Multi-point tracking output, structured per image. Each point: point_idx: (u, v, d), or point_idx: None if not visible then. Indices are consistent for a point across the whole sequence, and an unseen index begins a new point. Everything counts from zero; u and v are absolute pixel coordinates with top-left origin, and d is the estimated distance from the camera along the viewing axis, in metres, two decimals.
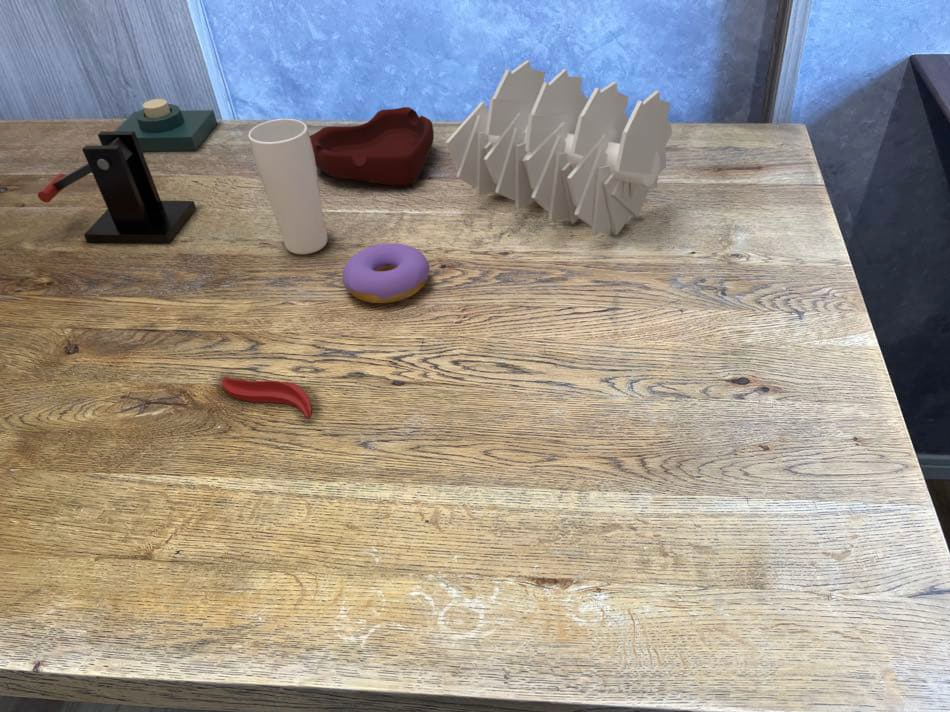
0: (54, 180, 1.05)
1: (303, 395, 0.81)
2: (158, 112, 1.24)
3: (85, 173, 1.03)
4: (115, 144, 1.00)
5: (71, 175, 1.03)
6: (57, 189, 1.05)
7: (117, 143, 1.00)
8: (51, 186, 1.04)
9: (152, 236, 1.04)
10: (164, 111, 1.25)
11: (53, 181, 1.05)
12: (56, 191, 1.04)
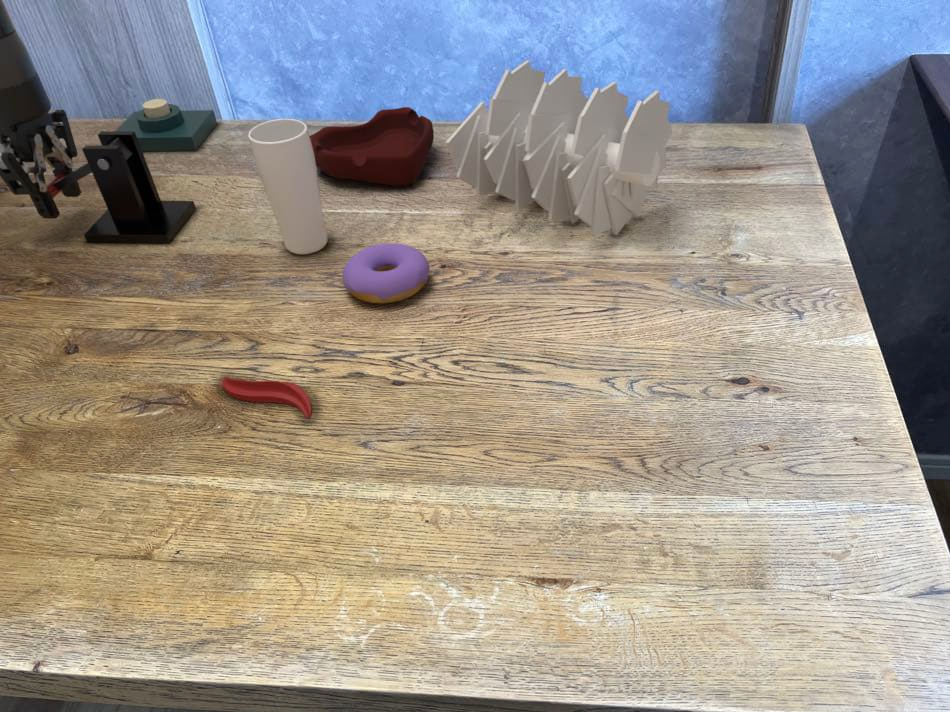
0: (54, 180, 1.05)
1: (303, 395, 0.81)
2: (158, 112, 1.24)
3: (86, 173, 1.03)
4: (115, 144, 1.00)
5: (71, 175, 1.03)
6: (57, 189, 1.05)
7: (117, 143, 1.00)
8: (51, 186, 1.04)
9: (152, 236, 1.04)
10: (164, 111, 1.25)
11: (53, 181, 1.05)
12: (56, 191, 1.04)
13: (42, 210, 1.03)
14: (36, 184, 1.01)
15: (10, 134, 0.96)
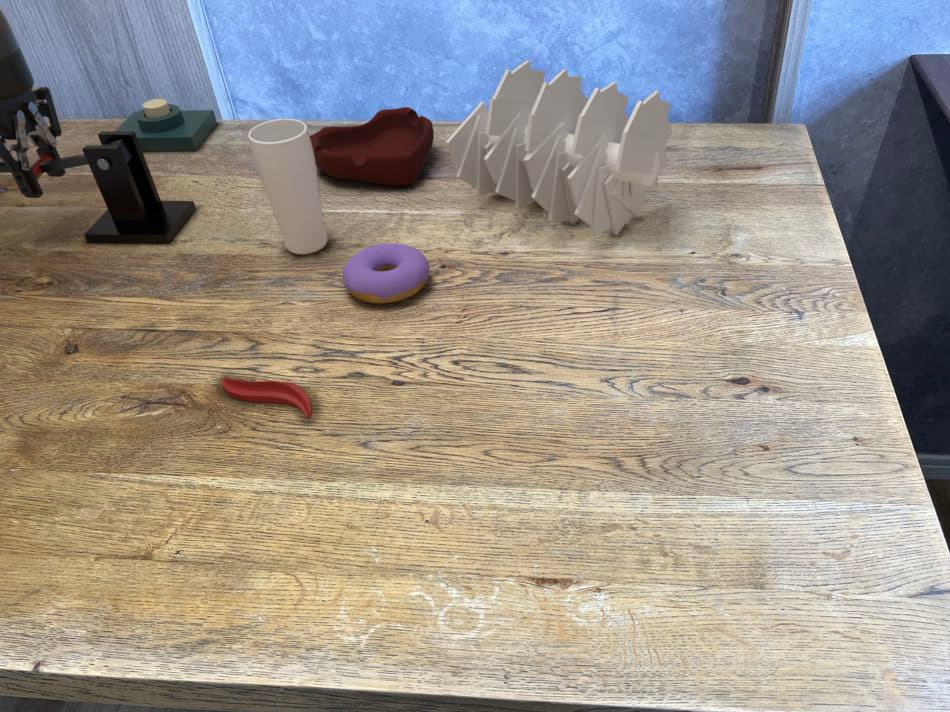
0: (40, 161, 1.03)
1: (303, 395, 0.81)
2: (158, 112, 1.24)
3: (78, 164, 1.02)
4: None
5: (62, 162, 1.02)
6: (42, 171, 1.03)
7: (120, 145, 1.00)
8: (37, 167, 1.02)
9: (152, 236, 1.04)
10: (164, 111, 1.25)
11: (39, 162, 1.03)
12: (41, 173, 1.03)
13: (25, 189, 1.01)
14: (18, 162, 0.99)
15: None
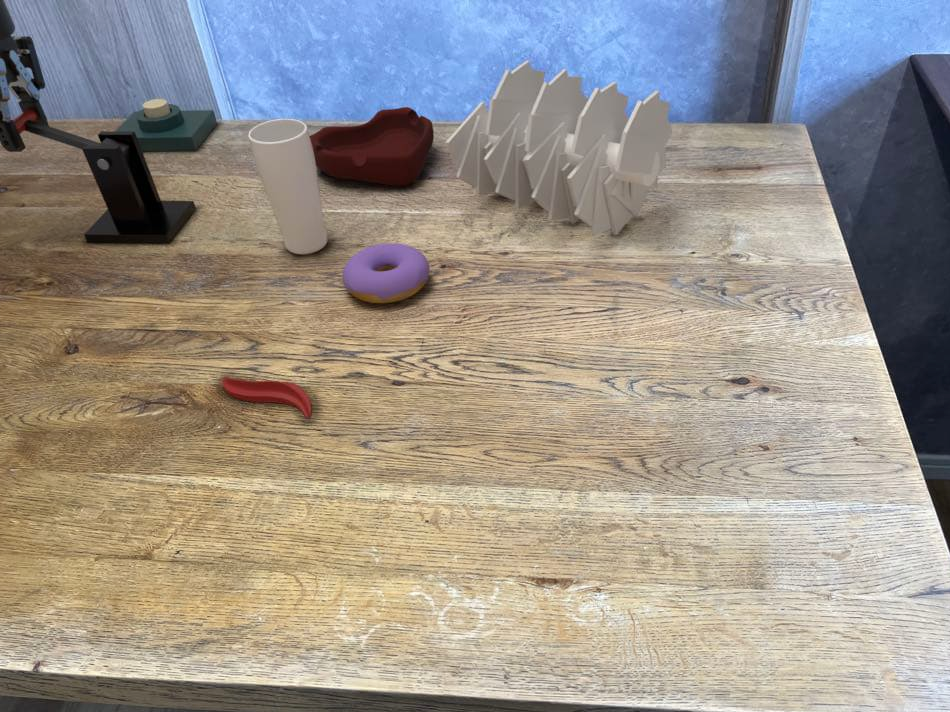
0: (26, 117, 0.99)
1: (303, 395, 0.81)
2: (158, 112, 1.24)
3: (70, 144, 1.00)
4: (124, 152, 1.01)
5: (53, 134, 0.99)
6: (25, 129, 0.99)
7: (125, 151, 1.01)
8: (22, 124, 0.99)
9: (152, 236, 1.04)
10: (164, 111, 1.25)
11: (25, 118, 0.99)
12: None
13: (6, 142, 0.97)
14: None
15: None
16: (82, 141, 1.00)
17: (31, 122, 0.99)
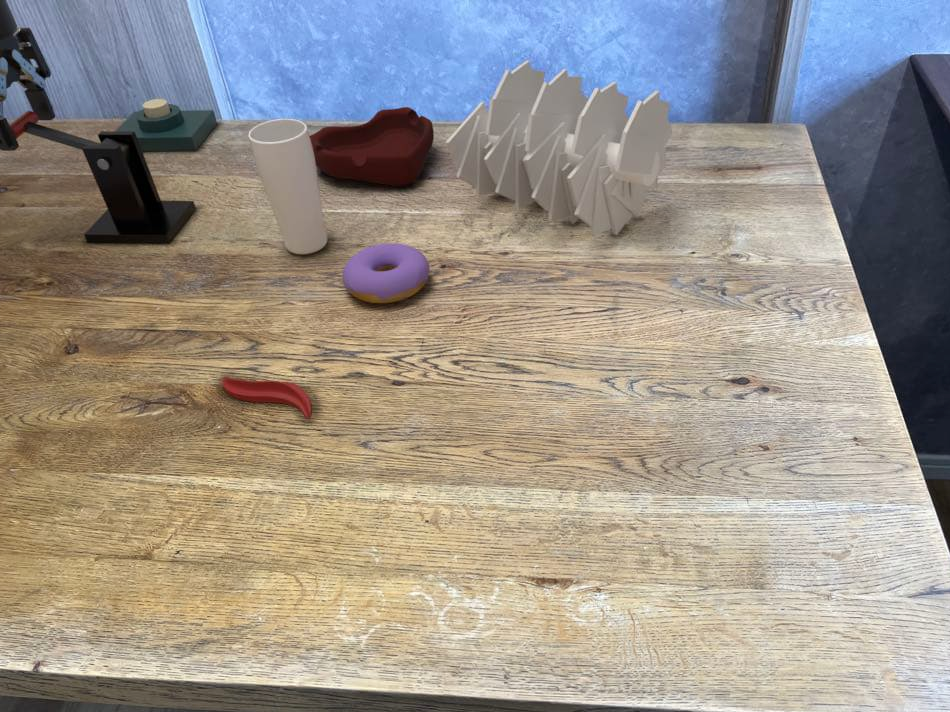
0: (26, 119, 1.00)
1: (303, 395, 0.81)
2: (158, 112, 1.24)
3: (70, 145, 1.00)
4: (124, 152, 1.01)
5: (53, 135, 1.00)
6: (26, 131, 0.99)
7: (125, 151, 1.01)
8: (22, 126, 0.99)
9: (152, 236, 1.04)
10: (164, 111, 1.25)
11: (25, 120, 0.99)
12: (23, 132, 0.99)
13: None
14: None
15: None
16: (82, 142, 1.00)
17: (31, 124, 0.99)
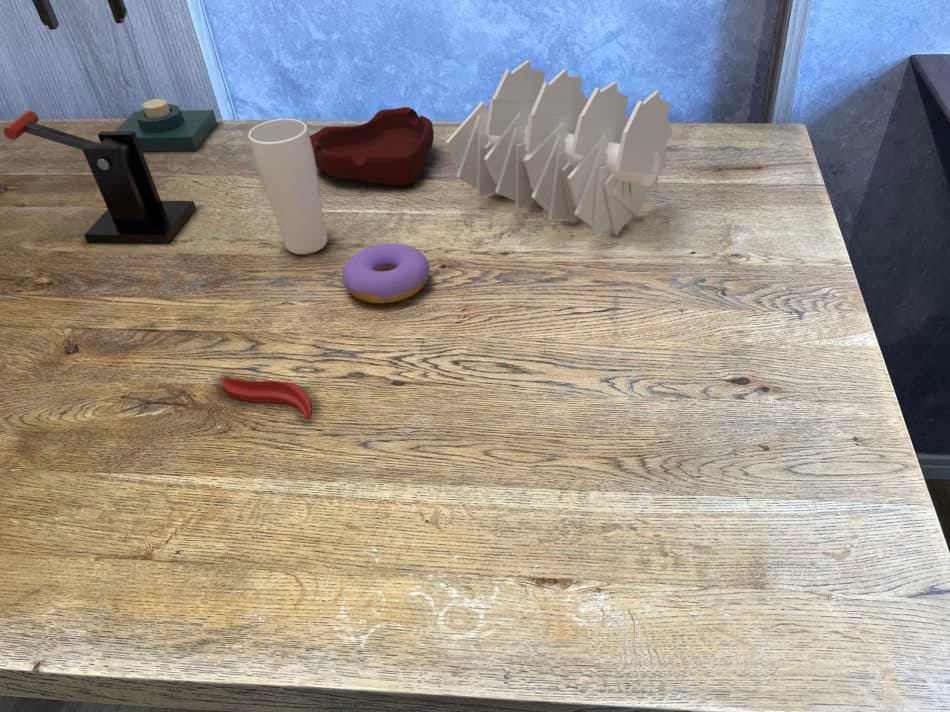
0: (26, 119, 1.00)
1: (303, 395, 0.81)
2: (158, 112, 1.24)
3: (70, 145, 1.00)
4: (124, 152, 1.01)
5: (53, 135, 1.00)
6: (26, 131, 0.99)
7: (125, 151, 1.01)
8: (22, 126, 0.99)
9: (152, 236, 1.04)
10: (164, 111, 1.25)
11: (25, 120, 0.99)
12: (23, 132, 0.99)
13: None
14: None
15: None
16: (82, 142, 1.00)
17: (31, 124, 0.99)
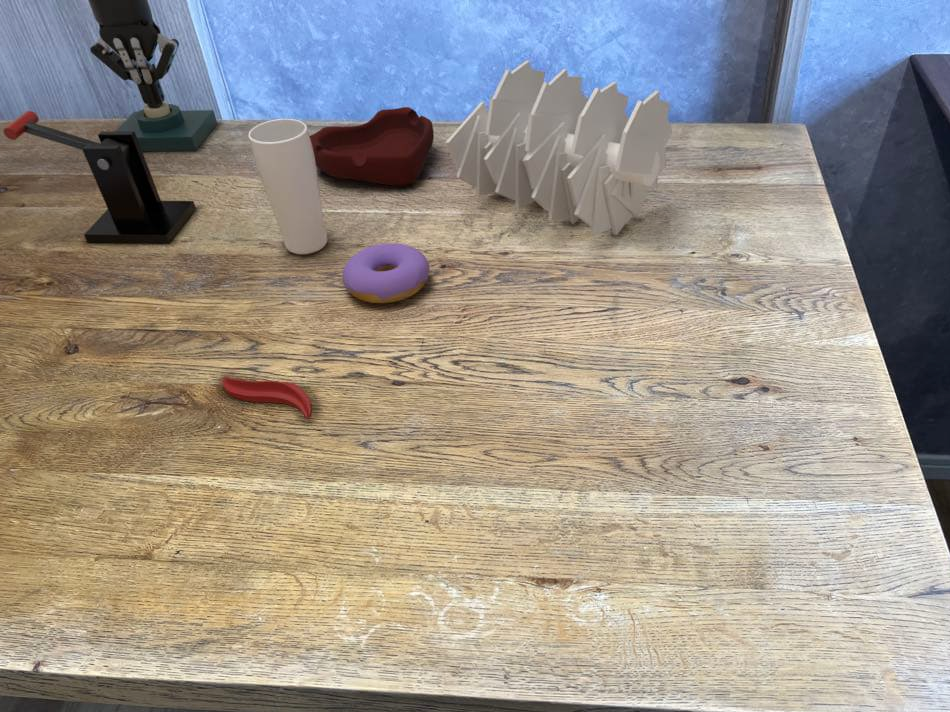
0: (26, 119, 1.00)
1: (303, 395, 0.81)
2: (159, 114, 1.24)
3: (70, 145, 1.00)
4: (124, 152, 1.01)
5: (53, 135, 1.00)
6: (26, 131, 0.99)
7: (125, 151, 1.01)
8: (22, 126, 0.99)
9: (152, 236, 1.04)
10: (164, 114, 1.25)
11: (25, 120, 0.99)
12: (23, 132, 0.99)
13: None
14: None
15: None
16: (82, 142, 1.00)
17: (31, 124, 0.99)
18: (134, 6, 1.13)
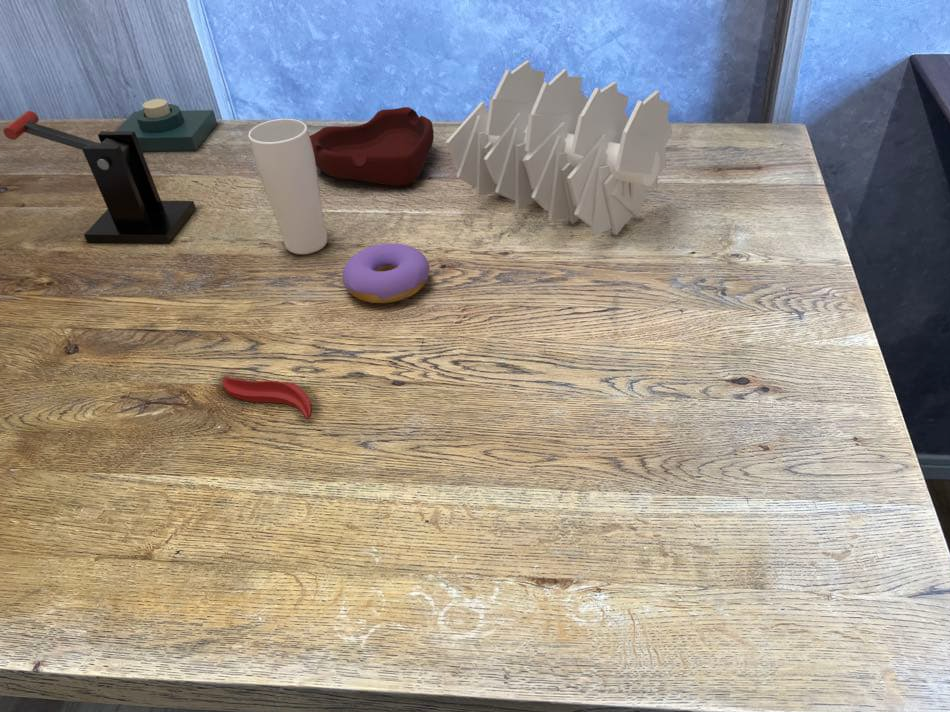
0: (26, 119, 1.00)
1: (303, 395, 0.81)
2: (158, 112, 1.24)
3: (70, 145, 1.00)
4: (124, 152, 1.01)
5: (53, 135, 1.00)
6: (26, 131, 0.99)
7: (125, 151, 1.01)
8: (22, 126, 0.99)
9: (152, 236, 1.04)
10: (164, 111, 1.25)
11: (25, 120, 0.99)
12: (23, 132, 0.99)
13: None
14: None
15: None
16: (82, 142, 1.00)
17: (31, 124, 0.99)
18: None
